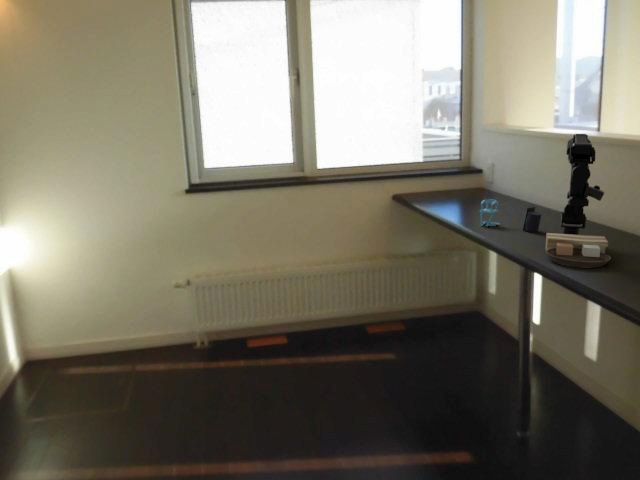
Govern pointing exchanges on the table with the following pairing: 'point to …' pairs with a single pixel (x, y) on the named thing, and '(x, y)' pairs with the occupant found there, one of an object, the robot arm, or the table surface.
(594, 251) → the light grey block
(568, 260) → the plant saucer
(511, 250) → the table surface
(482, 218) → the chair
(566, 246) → the tan clay block
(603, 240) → the beige elongated piece
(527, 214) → the speaker
